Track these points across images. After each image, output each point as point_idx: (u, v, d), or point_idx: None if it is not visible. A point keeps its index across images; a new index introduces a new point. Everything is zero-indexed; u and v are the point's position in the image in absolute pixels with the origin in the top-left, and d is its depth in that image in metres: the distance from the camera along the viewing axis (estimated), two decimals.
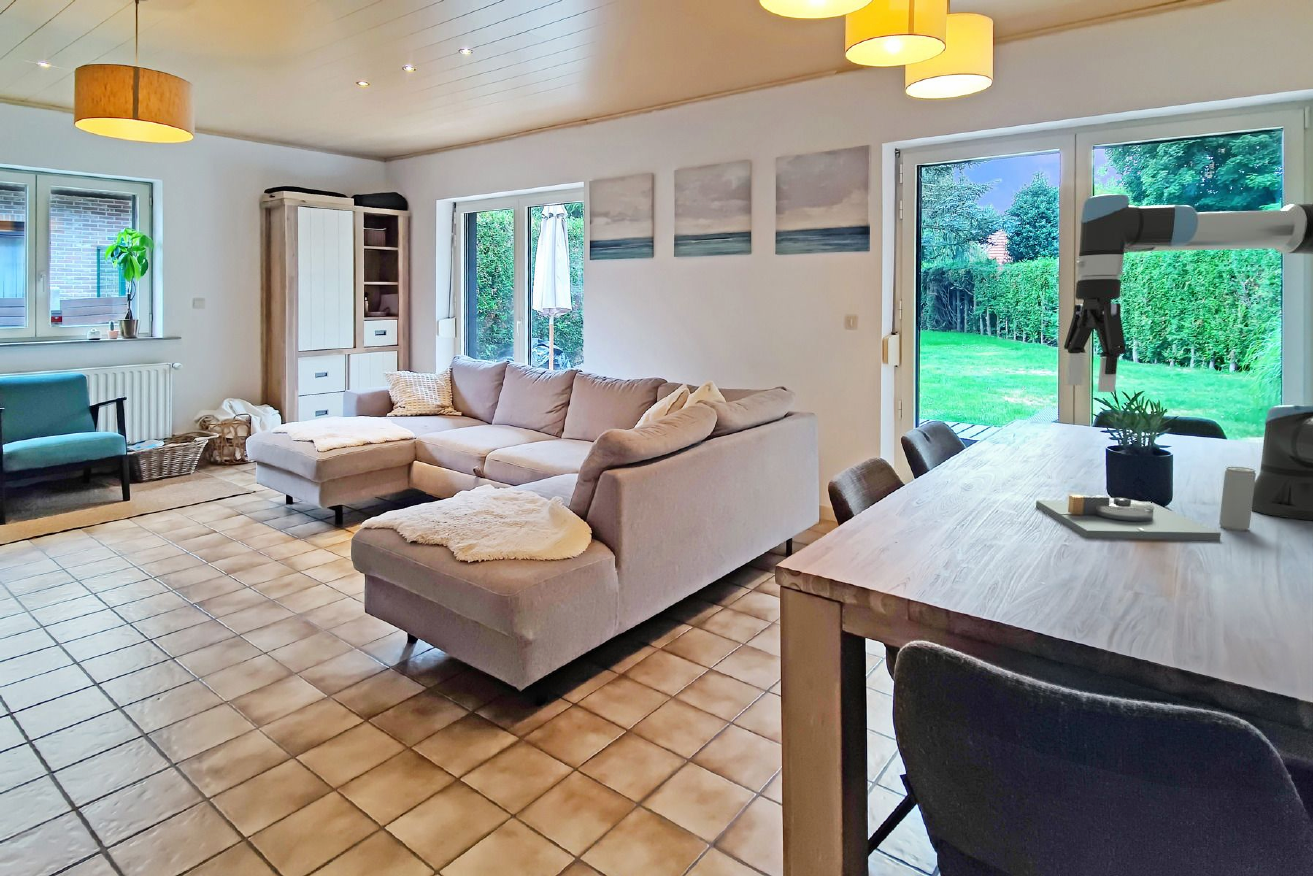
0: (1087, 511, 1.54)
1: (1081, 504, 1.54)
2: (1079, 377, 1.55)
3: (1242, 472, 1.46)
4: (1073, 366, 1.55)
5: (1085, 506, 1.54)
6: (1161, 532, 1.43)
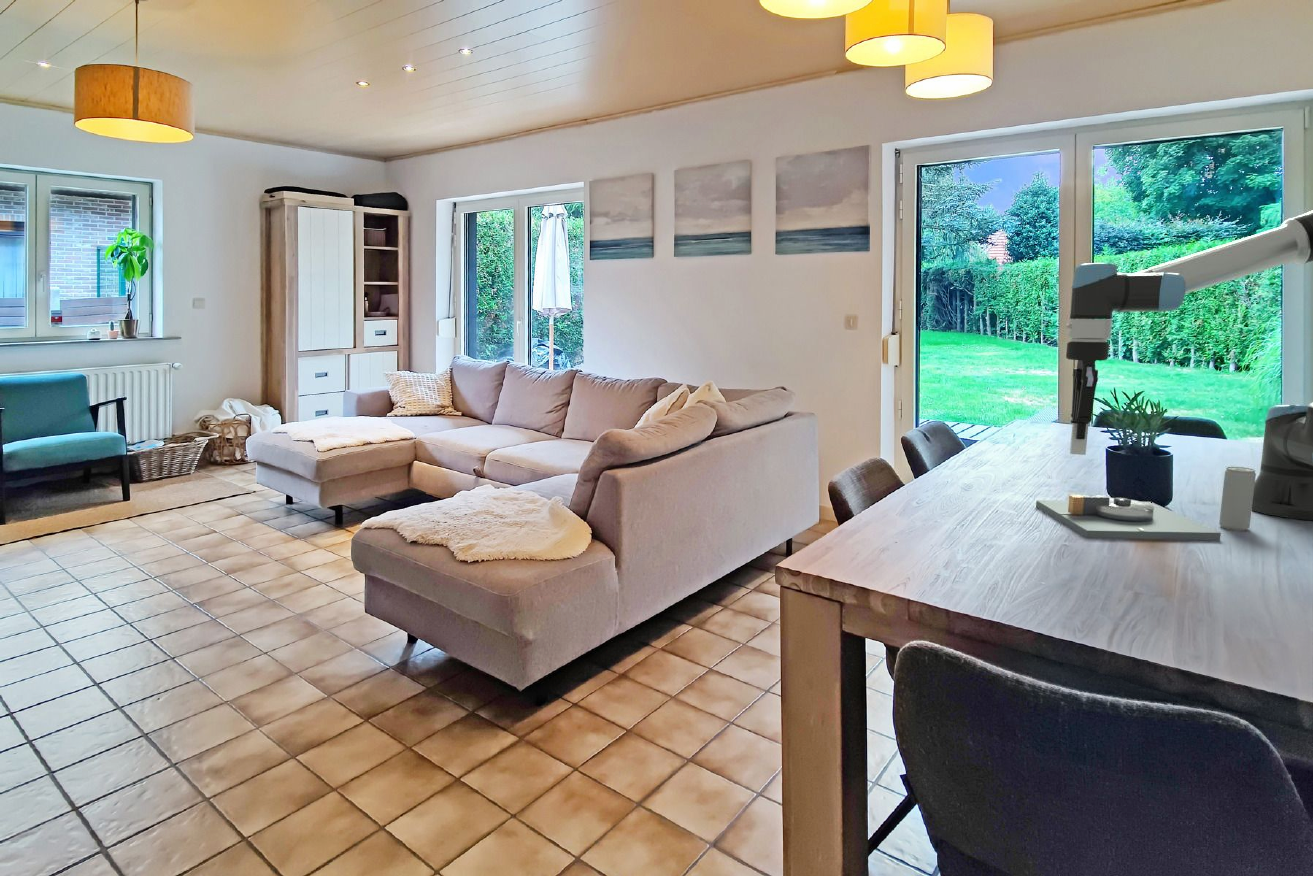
0: (1087, 511, 1.54)
1: (1081, 504, 1.54)
2: None
3: (1242, 472, 1.46)
4: None
5: (1085, 506, 1.54)
6: (1161, 532, 1.43)
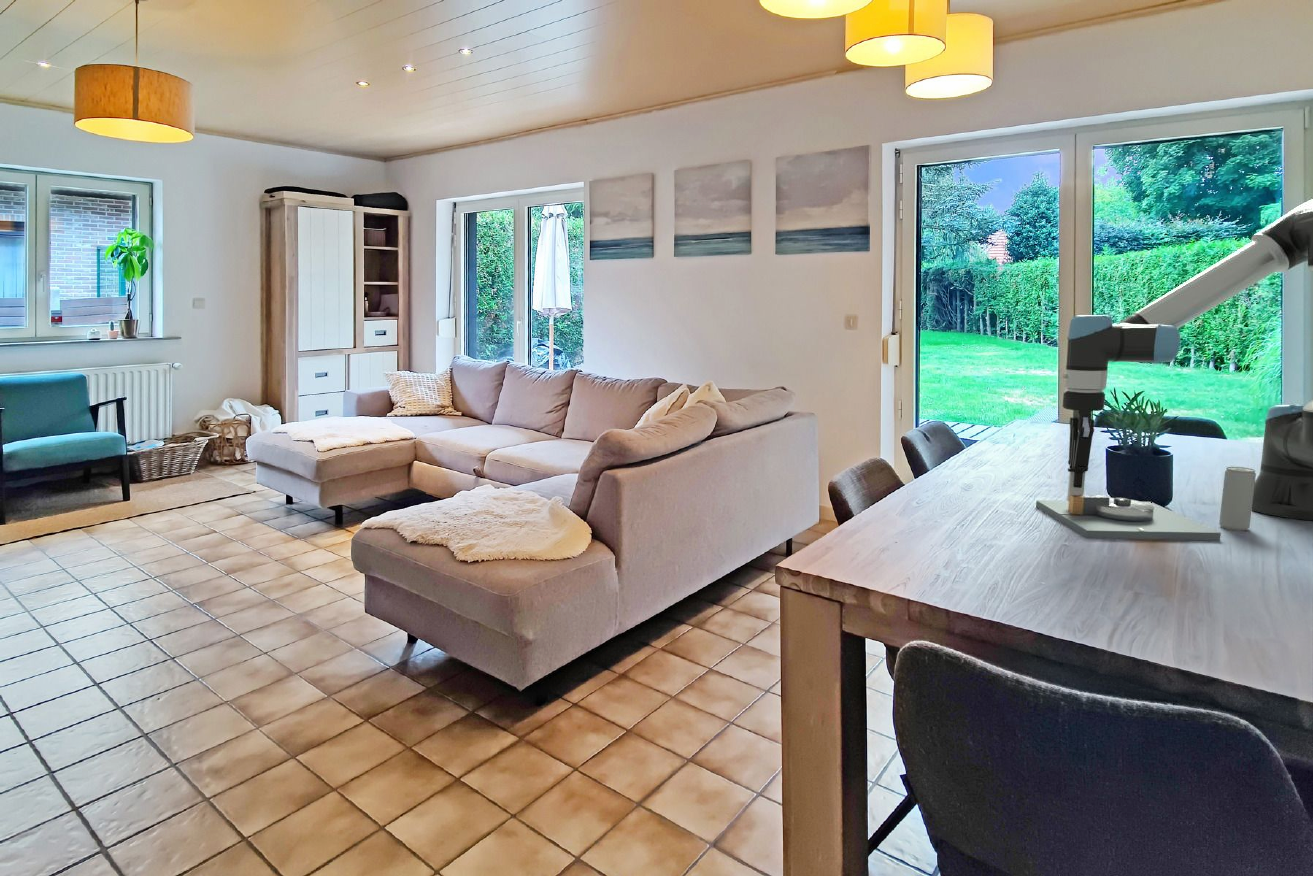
0: (1087, 511, 1.54)
1: (1081, 504, 1.54)
2: (1079, 494, 1.59)
3: (1242, 472, 1.46)
4: None
5: (1085, 506, 1.54)
6: (1161, 532, 1.43)
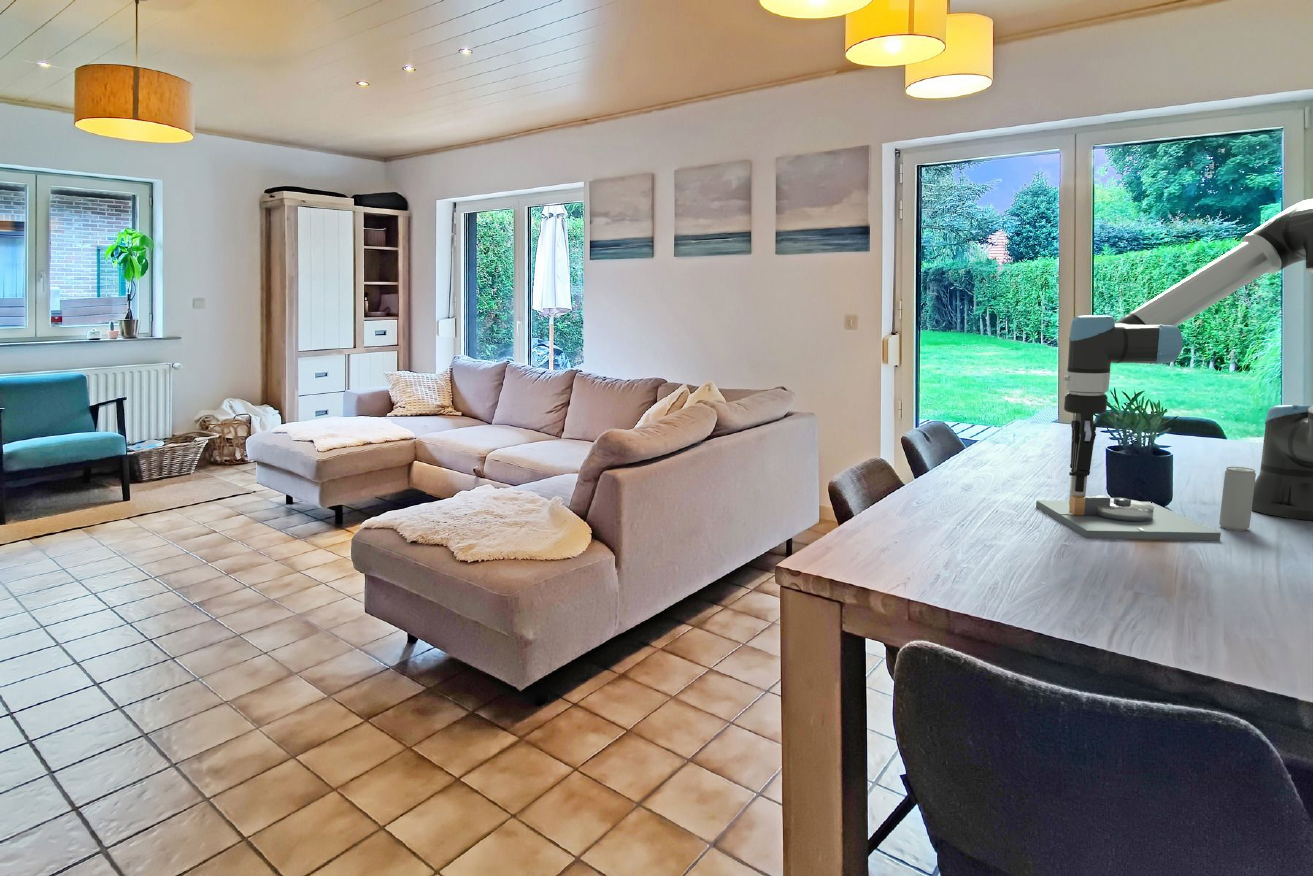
0: (1088, 512, 1.54)
1: (1083, 505, 1.53)
2: None
3: (1242, 472, 1.46)
4: (1074, 487, 1.56)
5: (1086, 507, 1.53)
6: (1161, 532, 1.43)
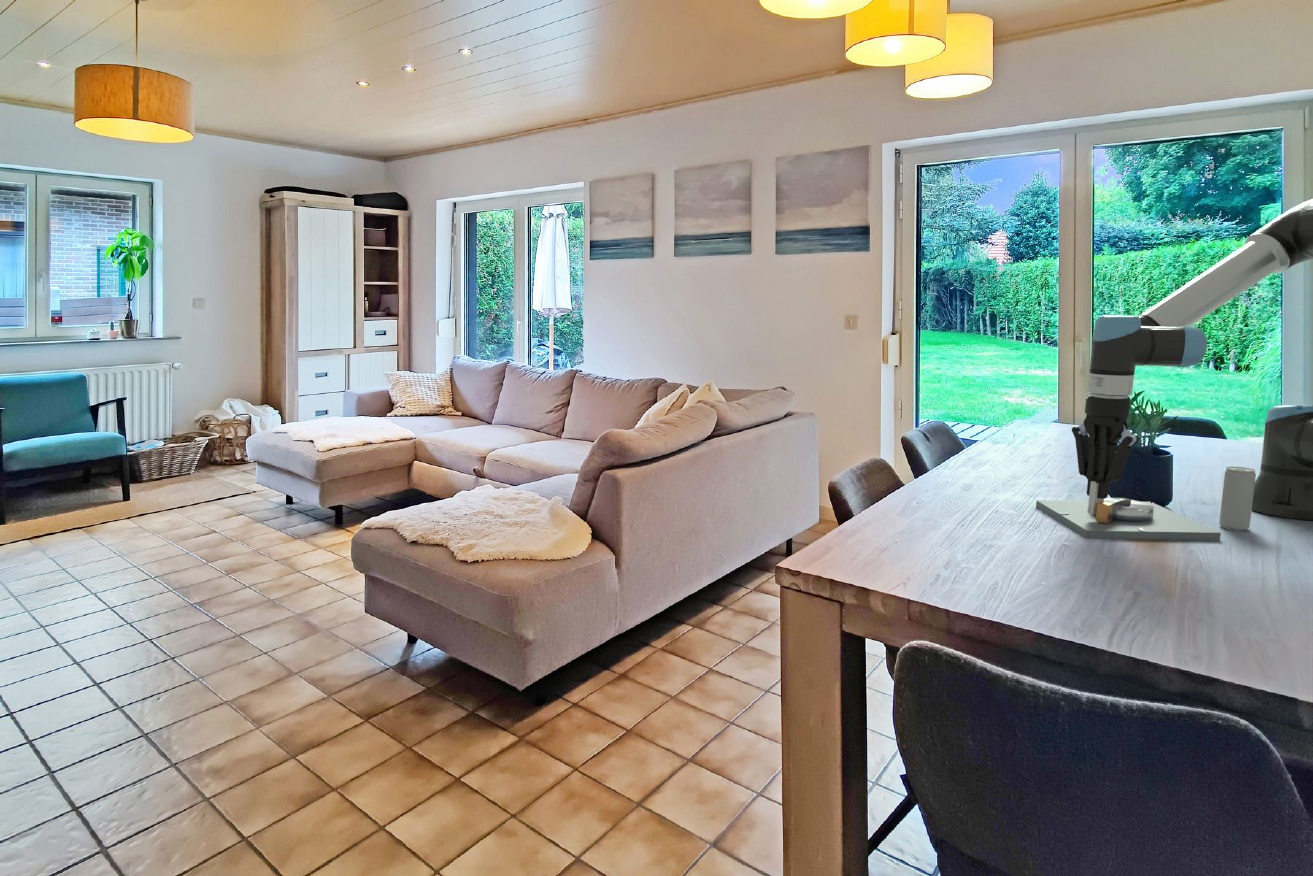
0: (1112, 517, 1.49)
1: (1111, 511, 1.48)
2: None
3: (1242, 472, 1.46)
4: None
5: (1112, 513, 1.49)
6: (1161, 532, 1.43)
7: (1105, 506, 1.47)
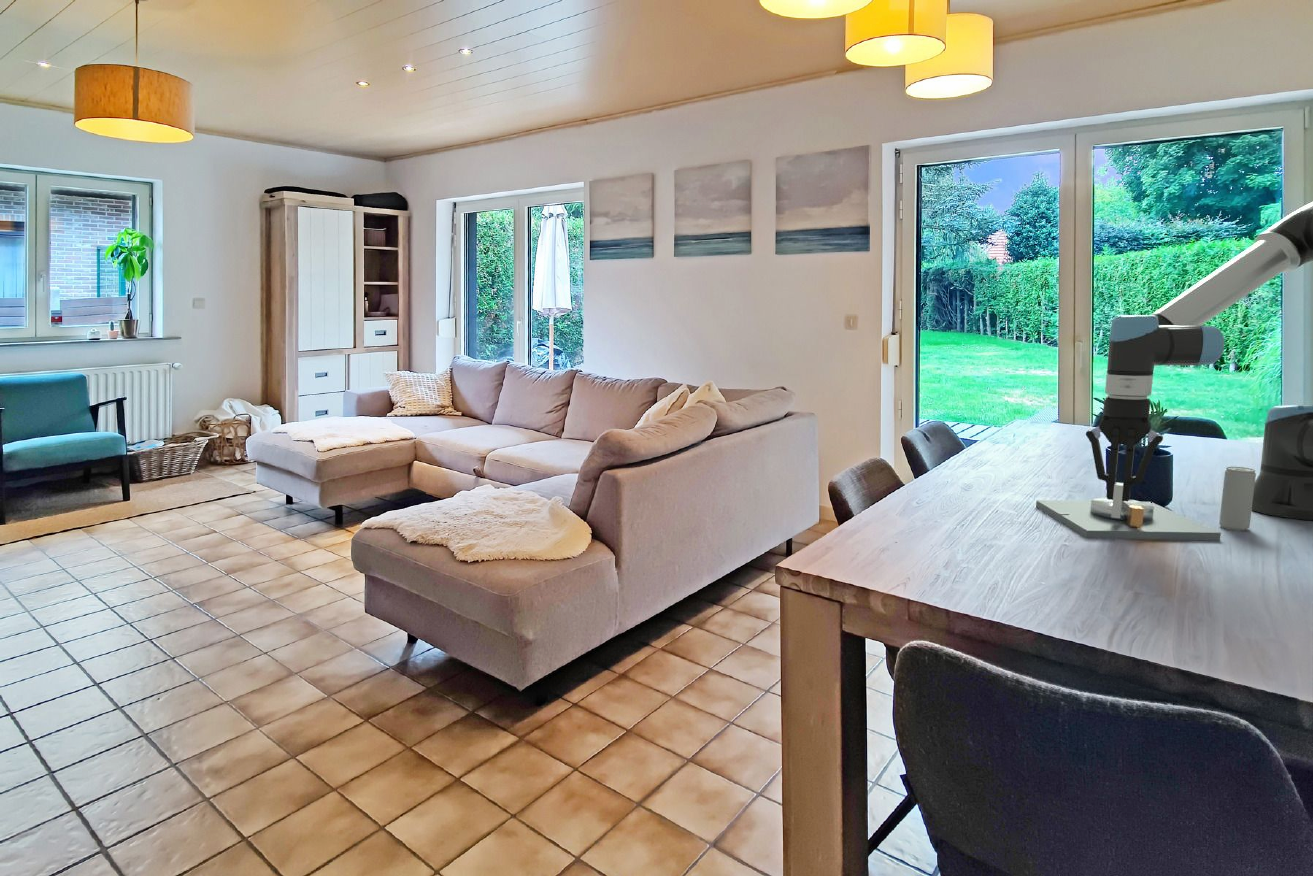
0: None
1: None
2: None
3: (1242, 472, 1.46)
4: None
5: None
6: (1161, 532, 1.43)
7: (1140, 510, 1.44)
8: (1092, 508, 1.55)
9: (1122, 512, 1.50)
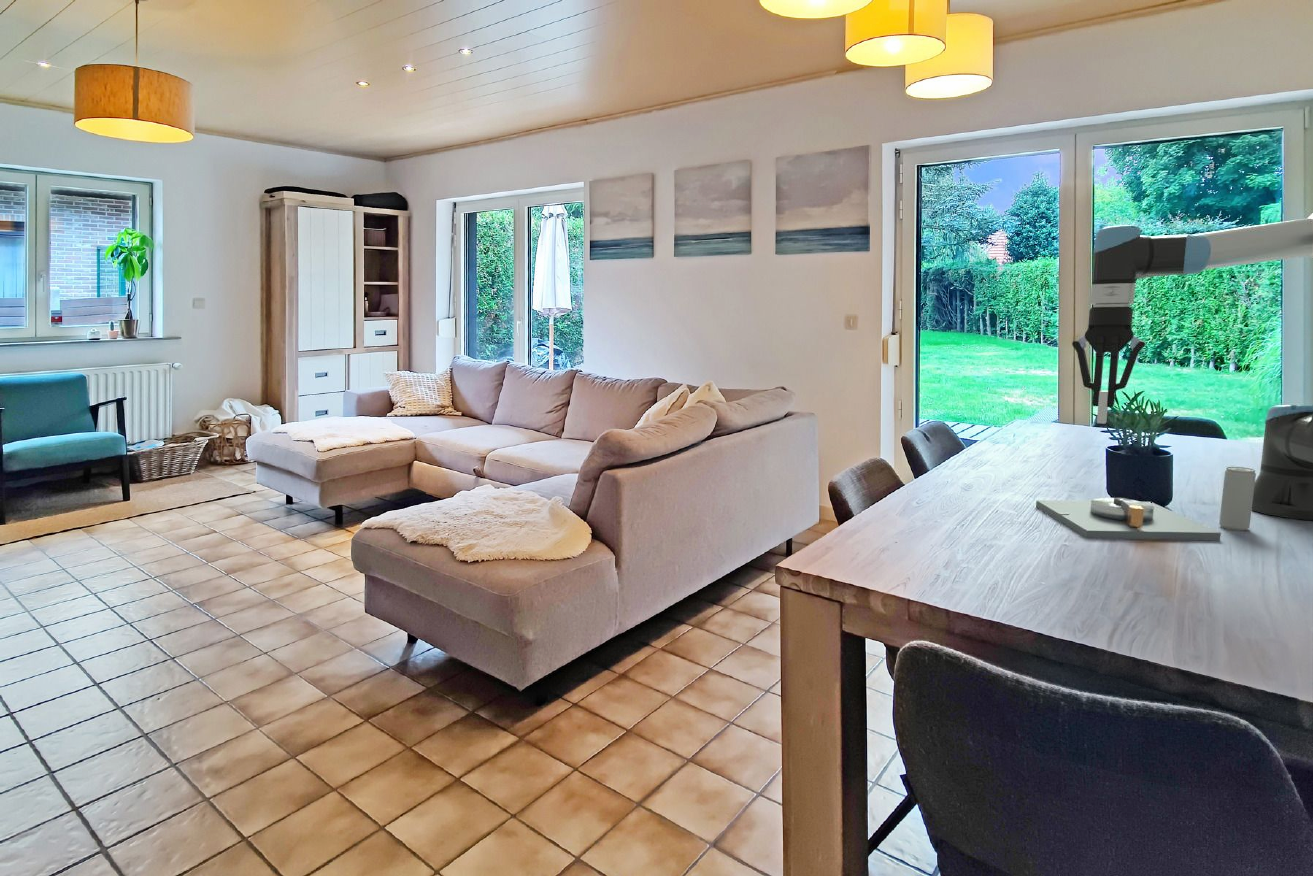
0: None
1: None
2: None
3: (1242, 472, 1.46)
4: None
5: None
6: (1161, 532, 1.43)
7: (1140, 510, 1.44)
8: (1092, 508, 1.55)
9: (1122, 512, 1.50)
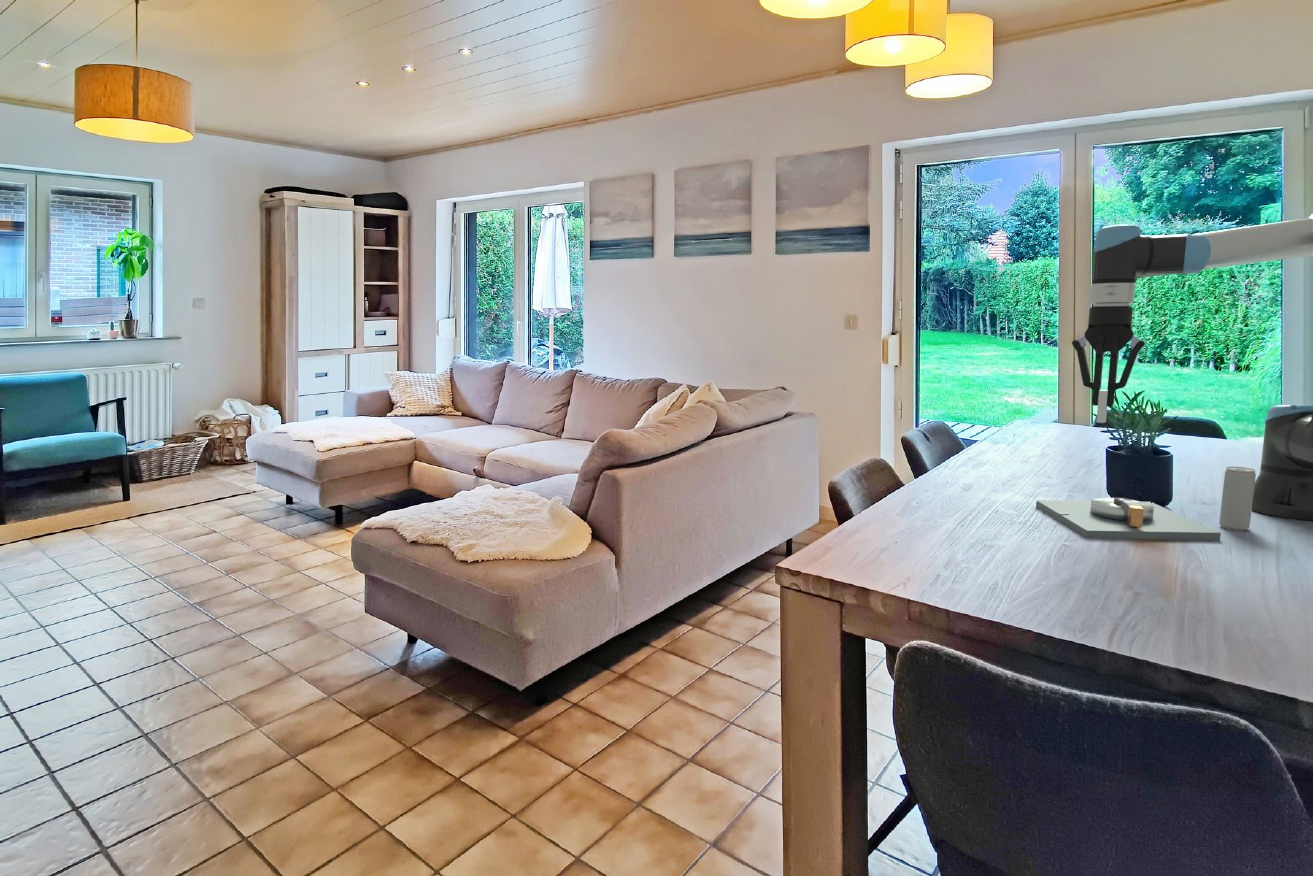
0: None
1: None
2: None
3: (1242, 472, 1.46)
4: None
5: None
6: (1161, 532, 1.43)
7: (1140, 510, 1.44)
8: (1092, 508, 1.55)
9: (1122, 512, 1.50)
